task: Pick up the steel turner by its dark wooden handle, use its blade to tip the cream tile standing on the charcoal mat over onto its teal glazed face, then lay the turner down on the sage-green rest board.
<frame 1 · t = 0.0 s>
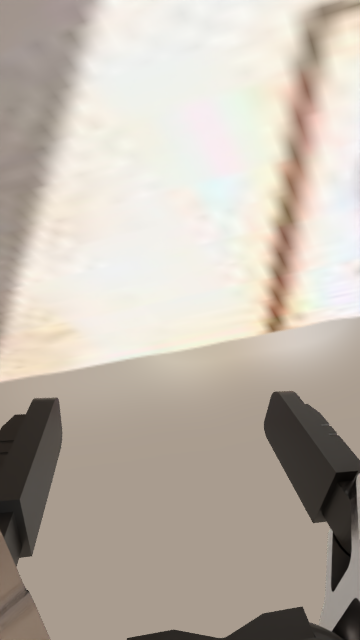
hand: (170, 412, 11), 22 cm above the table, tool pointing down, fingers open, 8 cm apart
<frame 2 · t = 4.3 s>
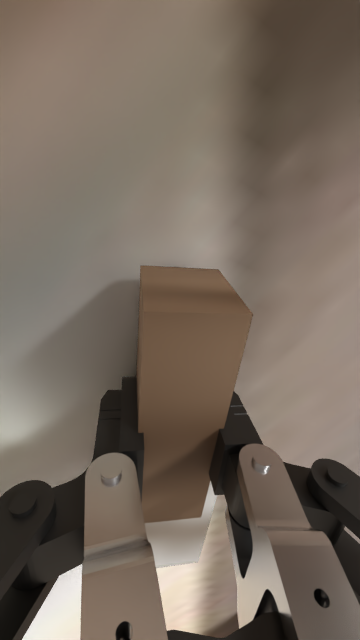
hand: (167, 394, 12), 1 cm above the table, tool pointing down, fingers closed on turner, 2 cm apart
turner: (162, 433, 13), on the table, touching gripper
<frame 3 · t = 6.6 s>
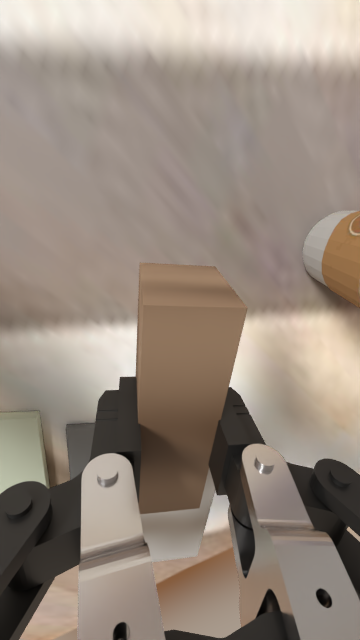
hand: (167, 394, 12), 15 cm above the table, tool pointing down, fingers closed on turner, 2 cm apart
coffee cup: (330, 246, 27), on the table
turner: (161, 427, 13), point 14 cm above the table, touching gripper
mat: (136, 471, 35), on the table
rest board: (11, 487, 32), on the table
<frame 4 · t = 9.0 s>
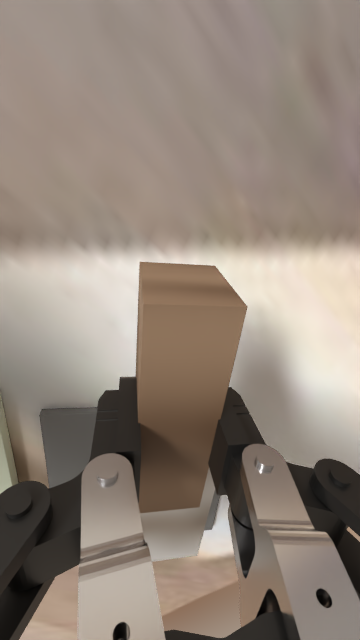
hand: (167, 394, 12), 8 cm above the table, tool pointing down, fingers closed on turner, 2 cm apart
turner: (161, 427, 13), point 7 cm above the table, touching gripper
mat: (141, 476, 25), on the table
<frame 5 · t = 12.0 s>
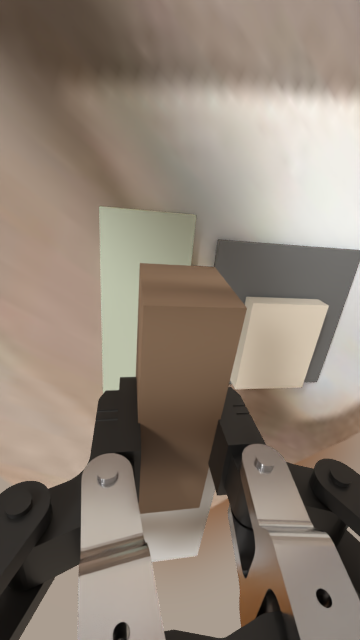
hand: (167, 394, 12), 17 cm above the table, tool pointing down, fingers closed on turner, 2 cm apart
tile: (287, 301, 28), point 2 cm above the table, tilted 90°, touching mat
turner: (161, 427, 14), point 16 cm above the table, touching gripper
mat: (273, 319, 31), on the table
rest board: (143, 325, 29), on the table
when the fingers open (3 cm above the table, at t = 14.8 s): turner drops 1 cm, resting on rest board.
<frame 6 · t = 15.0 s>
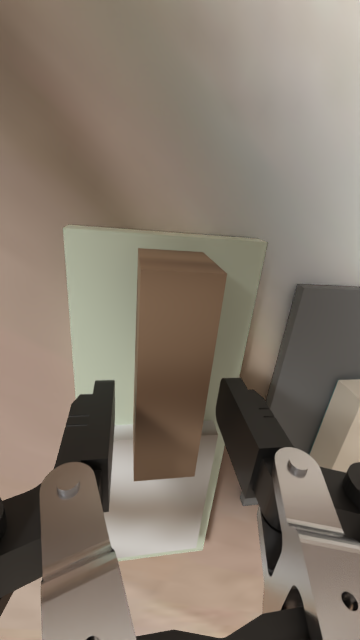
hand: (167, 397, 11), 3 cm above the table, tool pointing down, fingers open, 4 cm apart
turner: (159, 408, 15), point 1 cm above the table, touching rest board
rest board: (154, 429, 16), on the table
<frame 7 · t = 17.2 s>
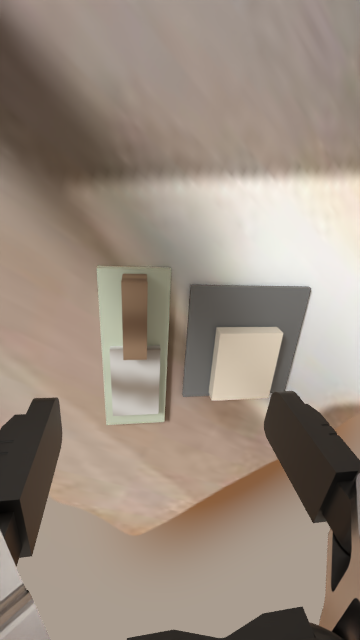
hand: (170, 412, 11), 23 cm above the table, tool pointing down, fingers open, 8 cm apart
tile: (249, 330, 35), point 2 cm above the table, tilted 90°, touching mat
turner: (135, 338, 34), point 1 cm above the table, touching rest board
mat: (241, 343, 38), on the table
rest board: (135, 351, 36), on the table
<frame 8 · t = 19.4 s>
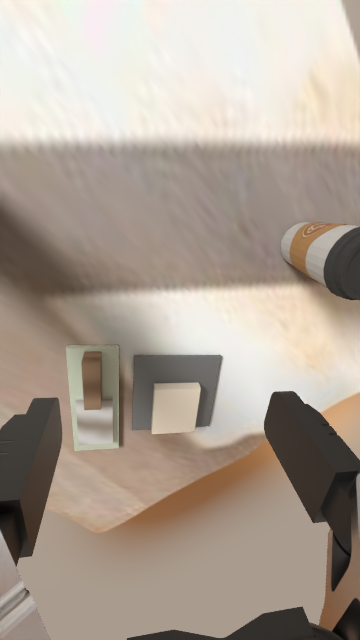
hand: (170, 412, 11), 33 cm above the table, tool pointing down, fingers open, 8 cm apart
coffee cup: (297, 243, 44), on the table
tile: (177, 386, 50), point 2 cm above the table, tilted 90°, touching mat
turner: (94, 392, 48), point 1 cm above the table, touching rest board
mat: (174, 392, 52), on the table
rest board: (95, 399, 50), on the table
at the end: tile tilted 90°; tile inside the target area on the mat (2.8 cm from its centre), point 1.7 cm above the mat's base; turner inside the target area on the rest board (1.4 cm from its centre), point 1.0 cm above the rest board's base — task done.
